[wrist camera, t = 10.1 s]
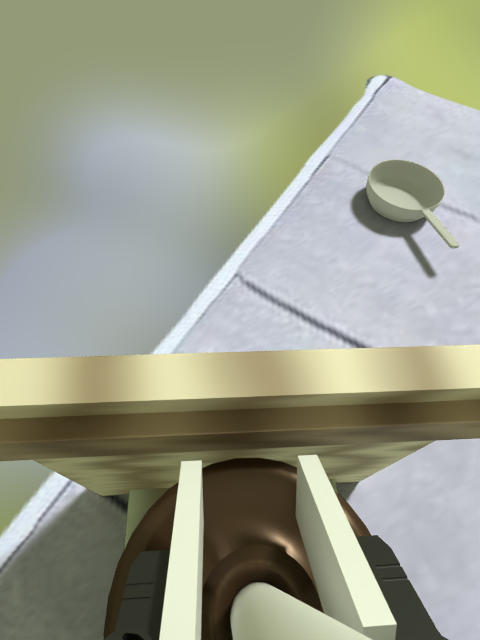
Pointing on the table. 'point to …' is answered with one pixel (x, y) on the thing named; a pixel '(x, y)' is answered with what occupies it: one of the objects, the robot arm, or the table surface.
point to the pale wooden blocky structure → (232, 412)
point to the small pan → (407, 194)
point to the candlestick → (244, 556)
